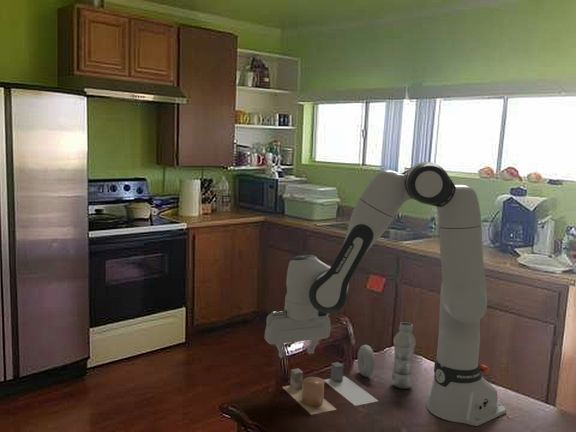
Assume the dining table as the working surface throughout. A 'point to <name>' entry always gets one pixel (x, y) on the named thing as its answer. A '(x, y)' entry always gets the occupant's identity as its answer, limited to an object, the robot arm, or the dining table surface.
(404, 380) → the plastic bottle
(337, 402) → the dining table surface
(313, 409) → the oak strip
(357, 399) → the grey strip
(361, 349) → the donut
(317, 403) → the terracotta cylinder
